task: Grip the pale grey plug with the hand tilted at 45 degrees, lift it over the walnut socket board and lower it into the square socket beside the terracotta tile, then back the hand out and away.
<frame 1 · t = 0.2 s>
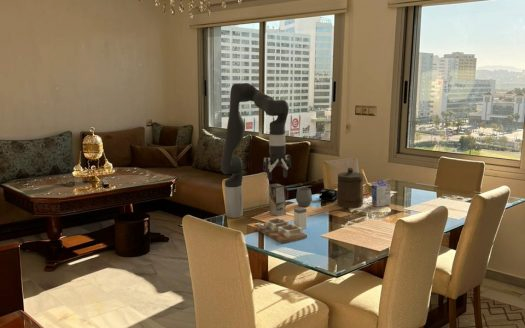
hand: (277, 178, 224), 29 cm above the table, tool pointing down, fingers open, 8 cm apart
coffee box: (277, 213, 271), on the table
end cap: (328, 200, 295), on the table
ink cartridge box: (381, 205, 281), on the table
cup: (304, 205, 284), on the table
wooden container: (349, 204, 284), on the table
plug: (300, 227, 245), on the table
socket board: (280, 233, 237), on the table
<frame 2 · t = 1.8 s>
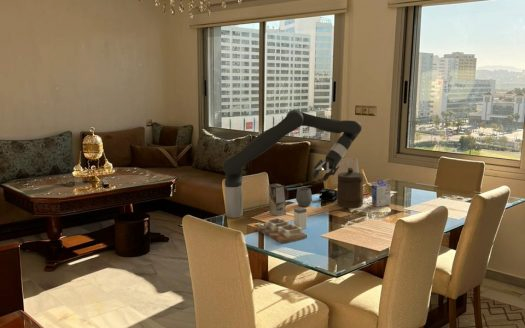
hand: (318, 178, 246), 24 cm above the table, tool tilted 45°, fingers open, 8 cm apart
nothing on the table moved.
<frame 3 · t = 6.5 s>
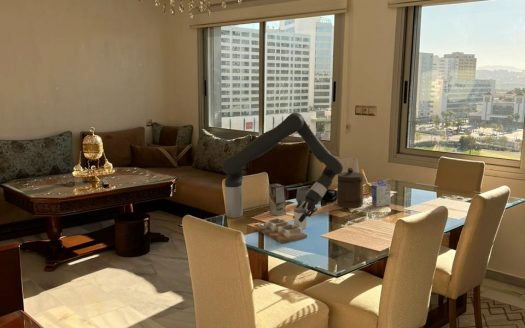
hand: (297, 220, 243), 4 cm above the table, tool tilted 45°, fingers closed on plug, 4 cm apart
plug: (300, 227, 245), on the table, touching gripper
everything else where it was.
when the fingers open (7 cm above the table, at t = 12.6 s): plug drops 1 cm, resting on socket board.
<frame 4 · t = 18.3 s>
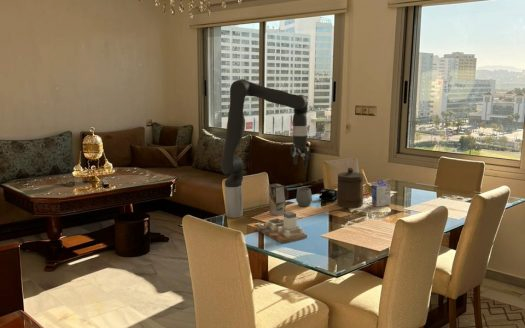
hand: (300, 165, 249), 30 cm above the table, tool pointing down, fingers open, 8 cm apart
plug: (290, 233, 232), point 1 cm above the table, touching socket board
everything else where it was.
at the end: plug 0.1 cm from the target spot on the socket board, point 1.5 cm above the socket board's base; plug tilted 0°; the gripper is holding nothing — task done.
